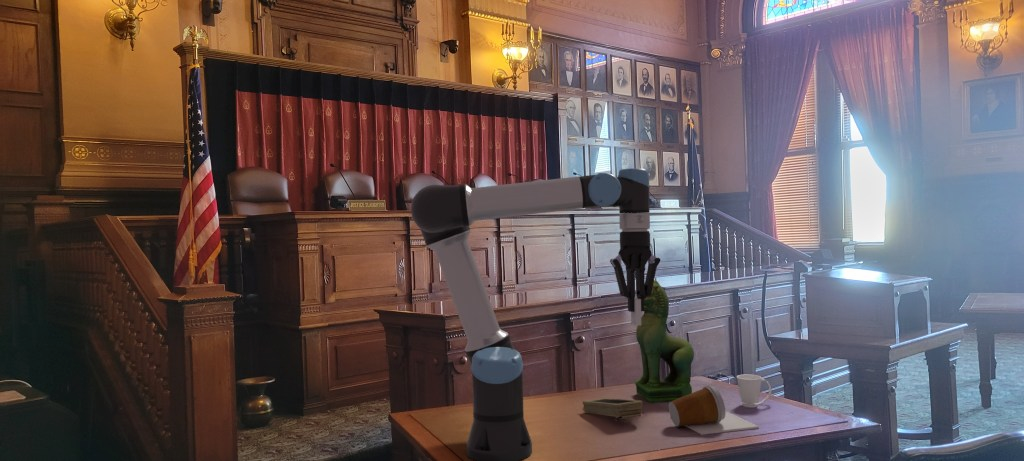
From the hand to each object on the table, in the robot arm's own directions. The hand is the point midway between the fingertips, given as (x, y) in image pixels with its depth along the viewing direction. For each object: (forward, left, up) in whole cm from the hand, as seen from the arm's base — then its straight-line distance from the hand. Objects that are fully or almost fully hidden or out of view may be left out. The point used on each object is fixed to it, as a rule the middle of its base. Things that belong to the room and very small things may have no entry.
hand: (636, 324), depth 180 cm
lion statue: (+22, +29, -27) cm, 45 cm away
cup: (+41, +12, -27) cm, 50 cm away
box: (-2, +14, -27) cm, 31 cm away
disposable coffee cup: (+9, -1, -23) cm, 25 cm away
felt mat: (+21, 0, -27) cm, 34 cm away
